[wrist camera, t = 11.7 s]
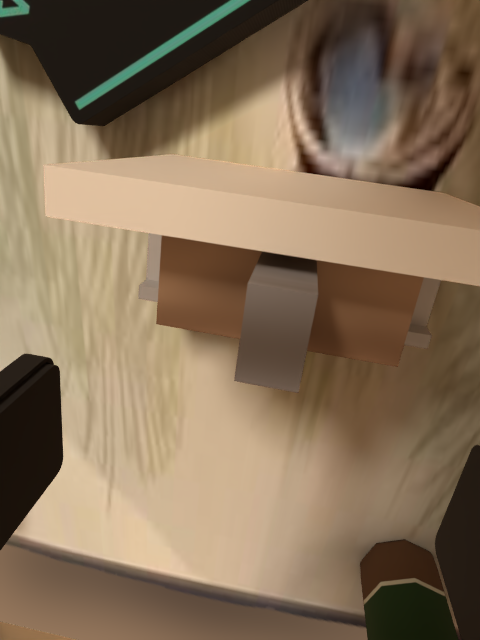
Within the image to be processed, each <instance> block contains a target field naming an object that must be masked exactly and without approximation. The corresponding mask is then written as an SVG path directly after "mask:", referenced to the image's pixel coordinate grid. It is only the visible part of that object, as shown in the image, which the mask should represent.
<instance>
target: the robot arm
mask: <svg viewBox="0 0 480 640" xmlns="http://www.w3.org/2000/svg"><path fill="white" fill-rule="evenodd" d="M62 462H63V441H62V416H61V391H60V371H59V367H58V366H56V365H54V363H53V361H52V359H51V358H48V357H43V356H37V355H32V354H23V355H21V356H20V357H19V358H18V359H16V360H15V361H14V362H12V363H11V364H10V365H8V366H7V367H6V368H4V369H3V370H2V371H0V550H1V549H2V547H3V546H4V545H5V543H6V542H7V541H8V539H9V538H10V537H11V535H12V534H13V533H14V531H15V530H16V529H17V527H18V526H19V525H20V523H21V522H22V521H23V519H24V518H25V517H26V515H27V514H28V513H29V511H30V510H31V509H32V507H33V506H34V505H35V503H36V502H37V501H38V499H39V498H40V497H41V495H42V494H43V493H44V491H45V490H46V489H47V487H48V486H49V485H50V483H51V482H52V481H53V479H54V478H55V477H56V475H57V474H58V472H59V470H60V468H61V465H62ZM435 549H436V554H437V558H438V561H439V565H440V568H441V571H442V575H443V578H444V581H445V585H446V588H447V591H448V595H449V598H450V601H451V605H452V608H453V612H454V615H455V618H456V622H457V625H458V628H459V632H460V635H461V638H462V640H480V446H479V445H475V446H474V447H473V448H472V450H471V452H470V455H469V457H468V460H467V462H466V464H465V467H464V469H463V472H462V474H461V477H460V479H459V481H458V484H457V486H456V489H455V491H454V494H453V496H452V498H451V501H450V503H449V506H448V508H447V511H446V513H445V515H444V518H443V520H442V523H441V525H440V528H439V530H438V532H437V535H436V540H435ZM0 640H76V639H72V638H68V637H64V636H60V635H55V634H51V633H47V632H43V631H39V630H34V629H30V628H26V627H21V626H17V625H13V624H9V623H4V622H1V621H0Z"/></svg>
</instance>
